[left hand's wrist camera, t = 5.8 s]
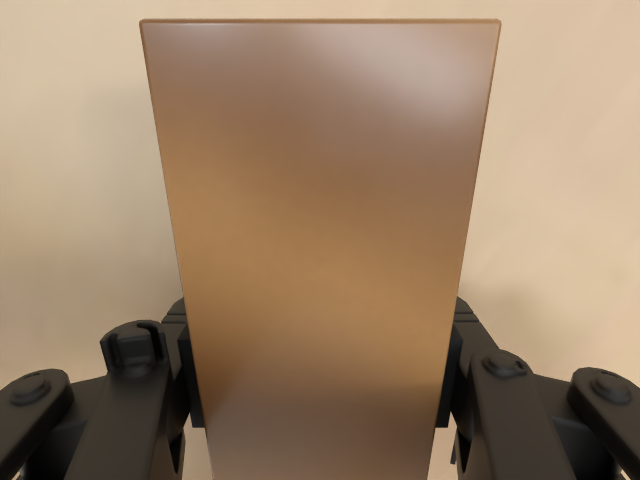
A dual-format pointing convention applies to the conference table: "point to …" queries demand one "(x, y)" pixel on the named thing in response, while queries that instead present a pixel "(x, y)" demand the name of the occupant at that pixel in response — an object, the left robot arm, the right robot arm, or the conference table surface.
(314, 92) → the beam
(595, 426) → the left robot arm
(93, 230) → the conference table surface
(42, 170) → the conference table surface
